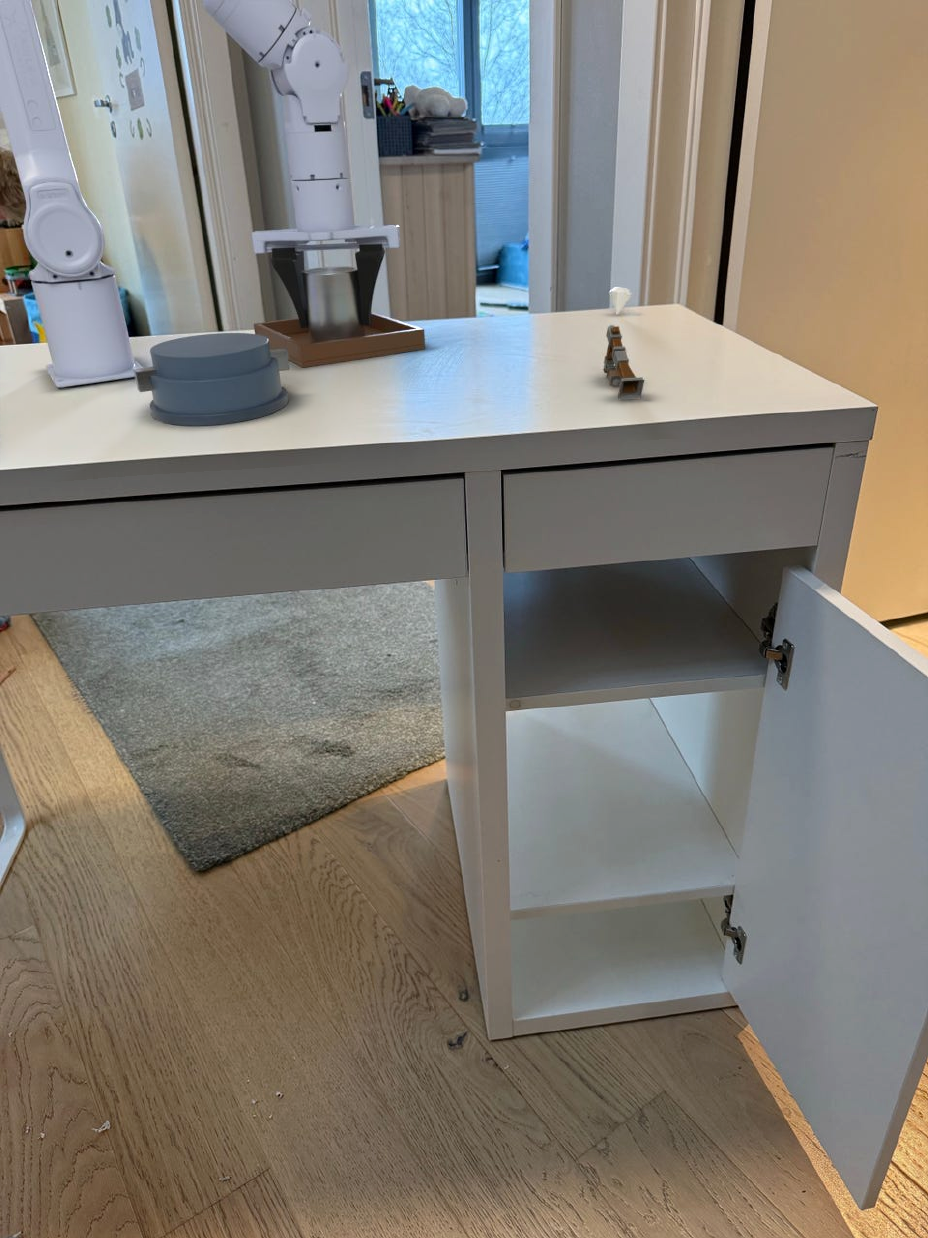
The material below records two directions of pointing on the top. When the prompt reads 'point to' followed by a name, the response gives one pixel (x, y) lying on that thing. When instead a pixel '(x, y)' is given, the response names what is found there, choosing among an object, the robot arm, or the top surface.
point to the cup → (333, 303)
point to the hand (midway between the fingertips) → (336, 324)
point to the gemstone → (620, 297)
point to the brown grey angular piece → (620, 367)
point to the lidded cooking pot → (214, 379)
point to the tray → (342, 341)
